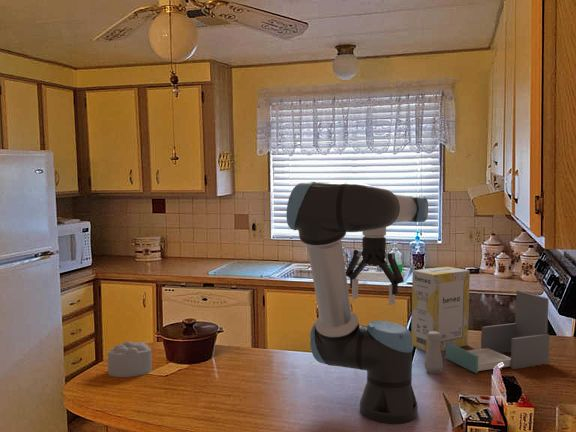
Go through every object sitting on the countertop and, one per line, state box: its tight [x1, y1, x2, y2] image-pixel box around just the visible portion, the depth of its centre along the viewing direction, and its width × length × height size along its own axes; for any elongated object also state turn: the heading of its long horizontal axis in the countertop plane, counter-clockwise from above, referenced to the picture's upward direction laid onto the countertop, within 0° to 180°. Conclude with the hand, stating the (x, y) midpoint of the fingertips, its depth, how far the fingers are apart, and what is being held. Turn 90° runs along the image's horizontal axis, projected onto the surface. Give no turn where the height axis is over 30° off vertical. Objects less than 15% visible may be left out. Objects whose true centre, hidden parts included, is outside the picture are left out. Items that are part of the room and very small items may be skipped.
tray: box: [445, 342, 511, 374], centre depth 185 cm, size 16×15×6 cm
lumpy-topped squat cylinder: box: [107, 340, 153, 378], centre depth 177 cm, size 10×13×9 cm
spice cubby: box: [480, 290, 550, 370], centre depth 189 cm, size 15×15×22 cm
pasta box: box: [410, 266, 471, 352], centre depth 205 cm, size 18×10×28 cm, turn 120°
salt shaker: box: [423, 331, 444, 375], centre depth 177 cm, size 6×6×13 cm
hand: (373, 301), depth 180 cm, fingers open, 13 cm apart
